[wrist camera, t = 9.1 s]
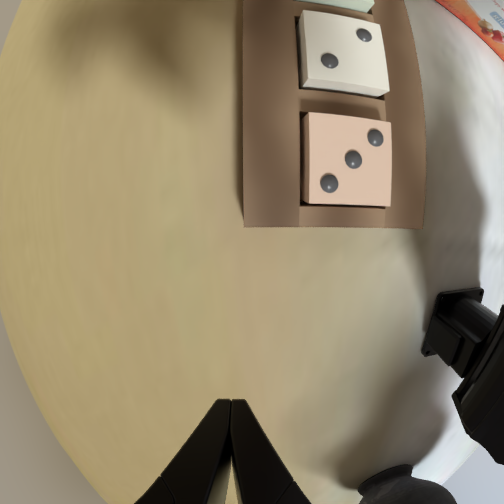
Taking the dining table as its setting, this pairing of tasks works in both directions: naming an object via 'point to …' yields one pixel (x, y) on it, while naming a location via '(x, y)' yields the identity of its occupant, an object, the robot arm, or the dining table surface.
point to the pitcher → (403, 489)
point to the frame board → (304, 101)
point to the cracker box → (481, 19)
